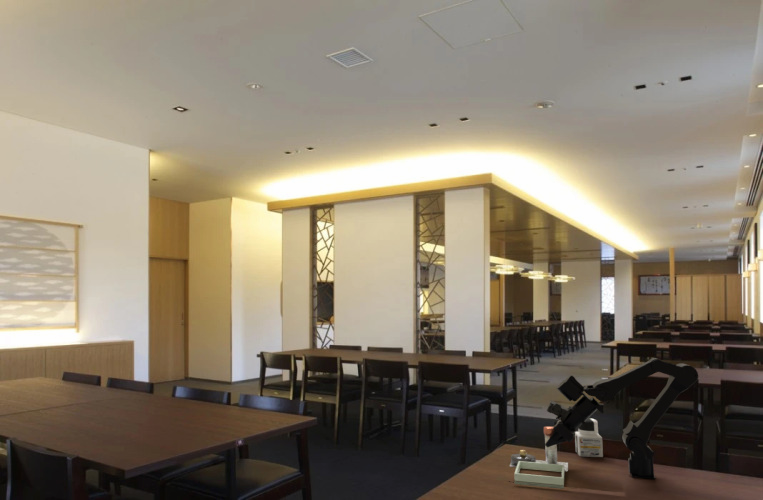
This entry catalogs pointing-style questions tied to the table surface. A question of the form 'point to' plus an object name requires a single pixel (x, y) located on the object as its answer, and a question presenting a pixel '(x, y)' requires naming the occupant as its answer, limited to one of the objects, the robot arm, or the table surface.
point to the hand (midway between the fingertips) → (546, 444)
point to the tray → (539, 478)
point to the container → (589, 439)
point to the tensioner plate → (530, 459)
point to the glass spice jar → (552, 450)
